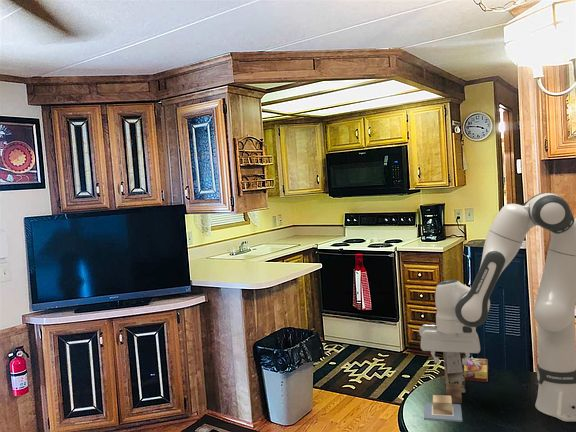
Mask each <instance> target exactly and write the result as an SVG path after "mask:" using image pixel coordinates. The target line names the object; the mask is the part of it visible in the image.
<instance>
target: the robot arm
mask: <svg viewBox="0 0 576 432" xmlns="http://www.w3.org/2000/svg"><path fill="white" fill-rule="evenodd" d="M492 221H493V222H492V223H491V225H490V227H489V230H488V231H487V234H486V237H485V240H484V244H483V250H482V256H481V261H480V265H479V266H480V267H479V269H478V272H477V274H476V275H475V278H474V281H473V283H472V285H471V287H469V286H467V285H466V284H464V283H462V282H460V280H457V279H445V280H442V281H440V282H439V283H438V284H436V288H435V294H434V295H435V298H434V299H435V301H434V302H435V308H436V314H435V323H436V324H423V325H421V326H420V327H419V329H418V333H419V334H418V335H419V336H420V349H421V351H423V352H430V355H431V356H432V358H433V360H434V364H439V362H440V361H439V359H440V358H439V357H438V356H436V352H441V353H442V352H461V353H463V354H465V357H464V358H462V365H467V360H468V358H470V356H471V354H479V353H480V352H481V344H480V343H481V342H480V338H479V335H478V333H477V331H476V330H477V327H480V326H482V325H484V323H486V321H487V319H488V316H489V311H490V307H491V300H490V297H491V294H492V293H493V290H494V288H495V286H496V284H497V281H498V279H499V278H500V277H501V274H502V272H504V270H505V269H506V268H507V267H508V265H510V264H511V262H512V261H513V259H514V258H515V257H516V255H517V254H518V253H519V250H520V248H521V247H522V245H523V243H524V240H525V238H526V235H527V234H528V232H530V230H531V229H532V228H534V227H536V226H539V227H540V228H543V229H545V230H547V231H549V232H550V241H549V245H548V248H547V254H546V259H545V262H544V266H543V267H544V268H543V271H542V275H541V278H540V279H541V280H540V282H539V287H538V290H537V294H536V298H535V302H534V307H533V316H534V319H535V322H536V323H537V342H536V343H537V344H536V345H537V360H538V361H537V363H538V364H537V365H536V375H537V376H536V377H537V381H538V390H537V396H536V401H535V404H534V406H535V409H537V410H538V411H539V412H541V413H543V414H544V415H547V416H551V417H554V418H557V419H559V420H561V421H563V422H576V318H575V317H576V313H575V311H576V218H575V217H574V215H573V213H572V208H571V207H570V205H569V203H568V202H567V201H566V200H565V199H564V198H563V197H561V196H560V195H558V194H556V193H552V192H541V193H538V194H535V195H534V196H532V197H531V198H529V199H528V200H527V201H526V202H523V204H517V203H507V204H505V205H504V206H502V207H501V209H500V210H499V212H498V213H497V215H496V216H495V218H494V220H492Z"/></svg>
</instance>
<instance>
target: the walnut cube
mask: <svg viewBox="0 0 576 432" xmlns="http://www.w3.org/2000/svg"><path fill="white" fill-rule="evenodd" d="M445 390H446V391H445V393H446V394H445V395H446V396H451V400H452V404H462V403H463V400H462V399H463V397H462V394H463V393H462V392H461V384H452V383H445Z"/></svg>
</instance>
